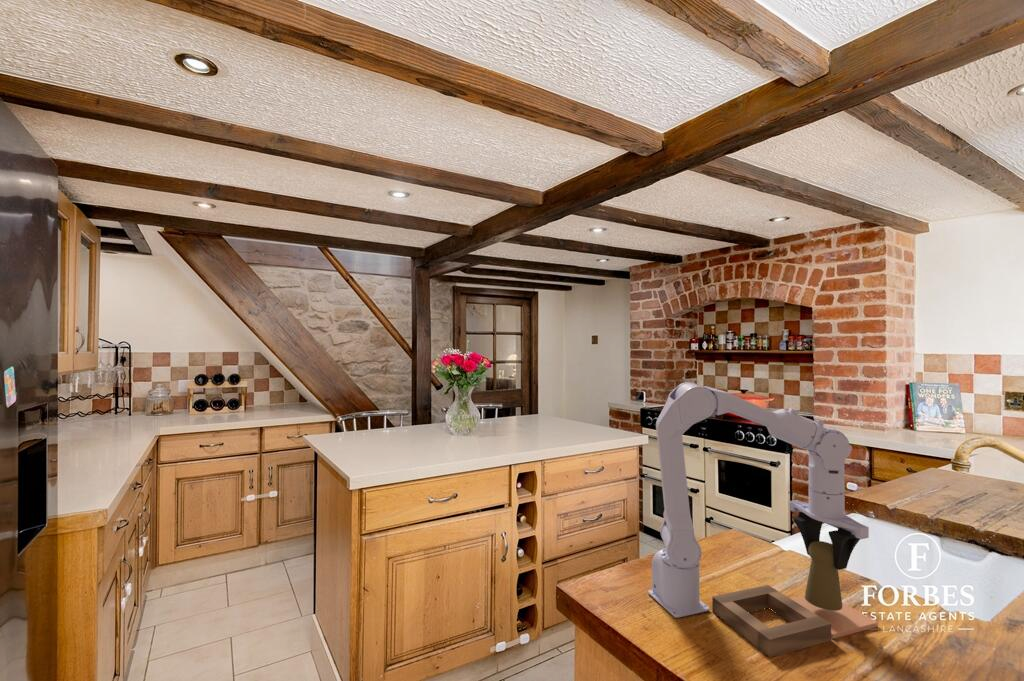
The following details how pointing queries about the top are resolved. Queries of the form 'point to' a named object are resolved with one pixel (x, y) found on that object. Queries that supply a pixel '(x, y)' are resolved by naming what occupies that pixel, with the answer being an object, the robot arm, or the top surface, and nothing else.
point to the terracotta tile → (840, 618)
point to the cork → (823, 578)
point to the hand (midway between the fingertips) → (826, 561)
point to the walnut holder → (774, 640)
